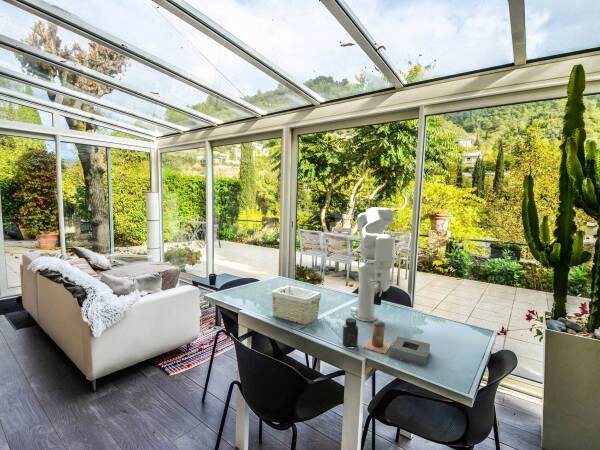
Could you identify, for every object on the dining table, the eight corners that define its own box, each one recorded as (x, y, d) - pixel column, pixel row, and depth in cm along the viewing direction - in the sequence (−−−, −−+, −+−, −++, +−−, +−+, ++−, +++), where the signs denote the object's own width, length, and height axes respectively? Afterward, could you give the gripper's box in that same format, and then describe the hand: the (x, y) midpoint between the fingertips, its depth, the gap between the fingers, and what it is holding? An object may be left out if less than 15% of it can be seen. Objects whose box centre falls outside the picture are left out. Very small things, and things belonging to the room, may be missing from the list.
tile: (363, 348, 138) (363, 346, 138) (370, 340, 147) (370, 338, 147) (385, 354, 133) (385, 352, 133) (391, 345, 142) (391, 343, 142)
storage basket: (269, 316, 172) (270, 290, 171) (286, 308, 186) (287, 284, 185) (305, 327, 159) (306, 299, 158) (321, 318, 172) (322, 292, 171)
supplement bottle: (340, 342, 144) (342, 316, 143) (355, 342, 144) (356, 317, 143) (344, 349, 137) (345, 322, 136) (359, 349, 137) (360, 322, 136)
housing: (389, 356, 132) (390, 347, 131) (397, 344, 144) (397, 335, 143) (424, 366, 125) (425, 357, 124) (429, 352, 137) (430, 344, 136)
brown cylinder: (370, 345, 140) (371, 324, 139) (373, 341, 144) (375, 320, 143) (381, 348, 137) (382, 327, 136) (384, 344, 141) (386, 323, 140)
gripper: (386, 269, 128) (383, 309, 130) (395, 262, 143) (393, 298, 145) (368, 266, 132) (366, 305, 133) (379, 259, 147) (377, 295, 148)
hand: (380, 301), depth 139 cm, fingers open, 9 cm apart
